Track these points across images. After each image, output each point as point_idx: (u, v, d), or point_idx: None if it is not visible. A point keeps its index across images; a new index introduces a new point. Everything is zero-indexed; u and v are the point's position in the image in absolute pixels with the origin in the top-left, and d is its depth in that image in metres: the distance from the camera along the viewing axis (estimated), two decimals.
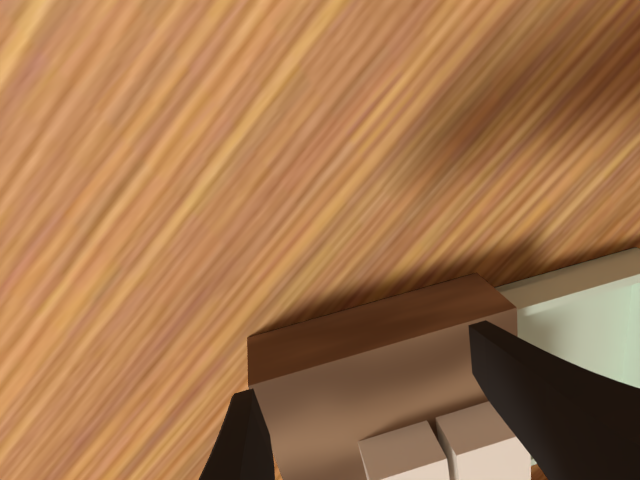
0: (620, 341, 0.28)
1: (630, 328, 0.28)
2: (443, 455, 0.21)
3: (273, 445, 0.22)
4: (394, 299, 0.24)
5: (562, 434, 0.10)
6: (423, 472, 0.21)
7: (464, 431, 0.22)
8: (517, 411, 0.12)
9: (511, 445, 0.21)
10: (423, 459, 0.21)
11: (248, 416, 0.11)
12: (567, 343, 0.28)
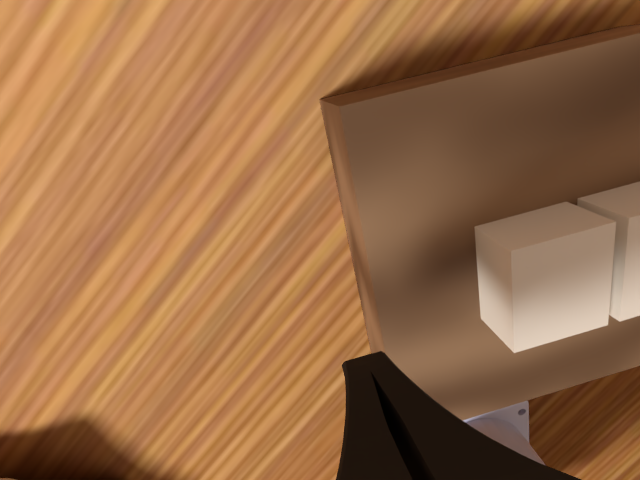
0: None
1: None
2: (609, 220, 0.15)
3: (364, 219, 0.16)
4: (514, 52, 0.18)
5: (421, 479, 0.10)
6: (582, 241, 0.15)
7: (628, 201, 0.16)
8: (398, 448, 0.11)
9: None
10: (581, 226, 0.15)
11: (372, 379, 0.12)
12: None
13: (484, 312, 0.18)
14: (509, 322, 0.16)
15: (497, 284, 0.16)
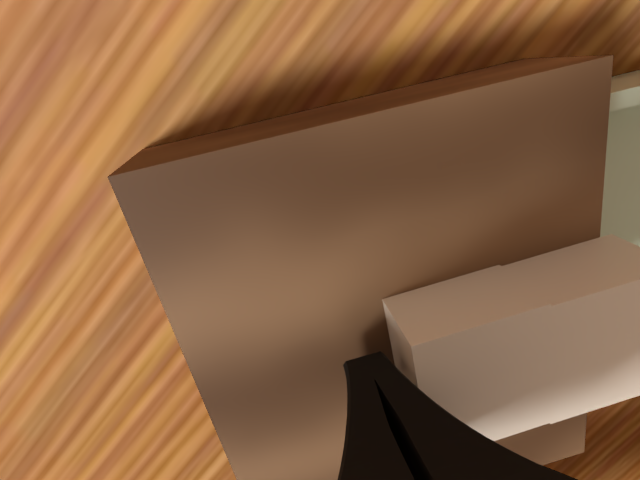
0: None
1: None
2: (542, 300, 0.11)
3: (171, 312, 0.12)
4: (389, 91, 0.15)
5: None
6: (507, 330, 0.11)
7: (556, 277, 0.12)
8: None
9: None
10: (506, 308, 0.12)
11: (373, 379, 0.12)
12: None
13: None
14: None
15: (408, 376, 0.13)
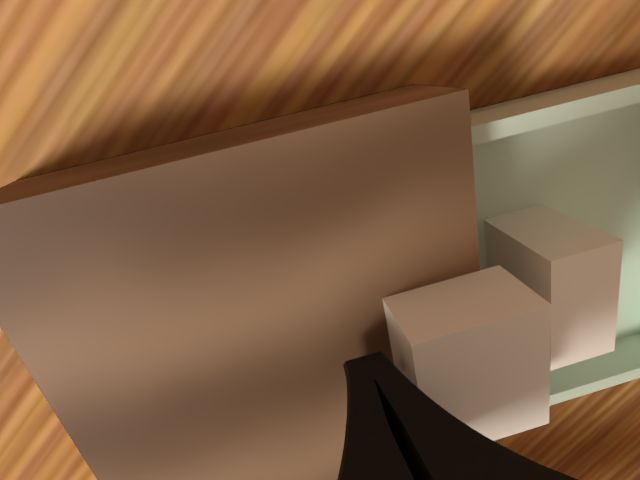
0: None
1: None
2: (542, 301, 0.12)
3: (23, 353, 0.12)
4: (270, 119, 0.14)
5: None
6: (507, 330, 0.11)
7: (568, 238, 0.14)
8: None
9: None
10: (506, 308, 0.12)
11: (373, 379, 0.12)
12: None
13: None
14: None
15: (407, 375, 0.13)
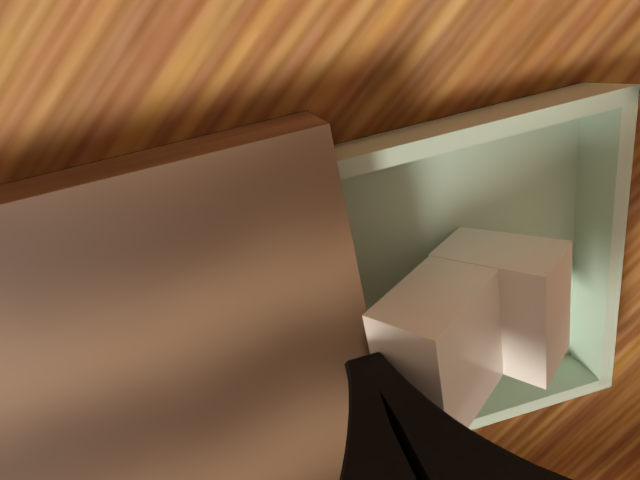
0: None
1: (578, 224, 0.17)
2: (490, 269, 0.14)
3: None
4: (156, 148, 0.14)
5: None
6: (481, 300, 0.13)
7: (527, 251, 0.14)
8: None
9: None
10: (473, 283, 0.13)
11: (375, 378, 0.12)
12: None
13: None
14: None
15: (413, 380, 0.12)
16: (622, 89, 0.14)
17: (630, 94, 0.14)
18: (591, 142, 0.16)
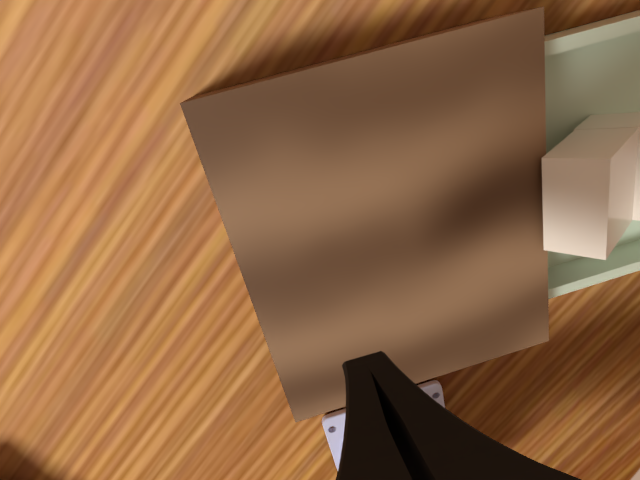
0: None
1: None
2: (632, 128, 0.18)
3: (223, 210, 0.17)
4: (381, 46, 0.19)
5: (420, 479, 0.10)
6: (630, 146, 0.18)
7: None
8: (398, 448, 0.11)
9: None
10: (622, 135, 0.18)
11: (372, 379, 0.12)
12: None
13: (551, 241, 0.19)
14: (600, 232, 0.17)
15: (582, 201, 0.17)
16: None
17: None
18: None
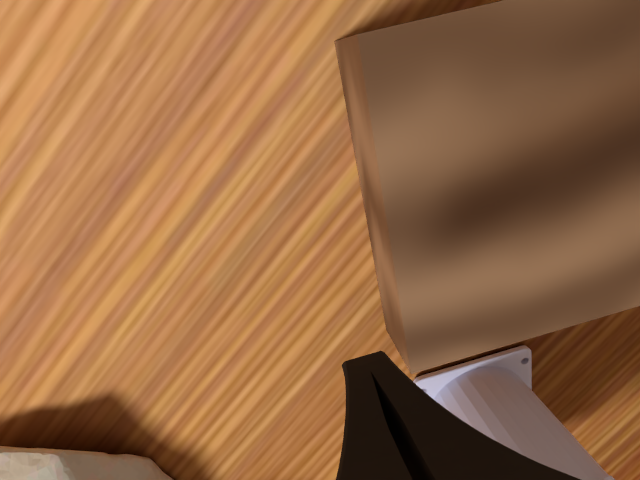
0: None
1: None
2: None
3: (379, 147, 0.17)
4: None
5: (420, 479, 0.10)
6: None
7: None
8: (398, 448, 0.11)
9: None
10: None
11: (372, 379, 0.12)
12: None
13: None
14: None
15: None
16: None
17: None
18: None
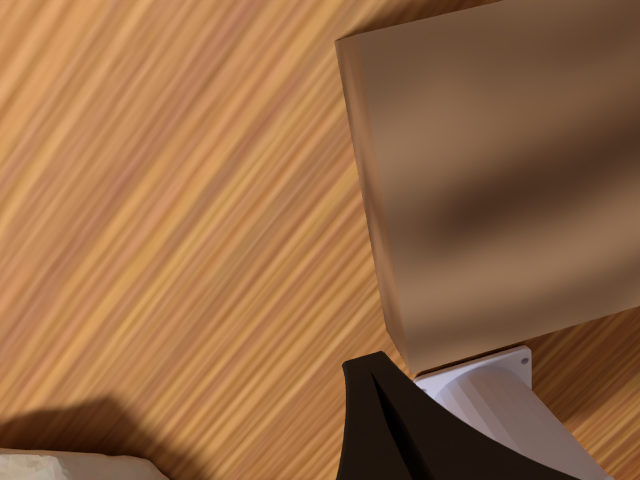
0: None
1: None
2: None
3: (379, 147, 0.17)
4: None
5: (420, 479, 0.10)
6: None
7: None
8: (398, 448, 0.11)
9: None
10: None
11: (372, 379, 0.12)
12: None
13: None
14: None
15: None
16: None
17: None
18: None
